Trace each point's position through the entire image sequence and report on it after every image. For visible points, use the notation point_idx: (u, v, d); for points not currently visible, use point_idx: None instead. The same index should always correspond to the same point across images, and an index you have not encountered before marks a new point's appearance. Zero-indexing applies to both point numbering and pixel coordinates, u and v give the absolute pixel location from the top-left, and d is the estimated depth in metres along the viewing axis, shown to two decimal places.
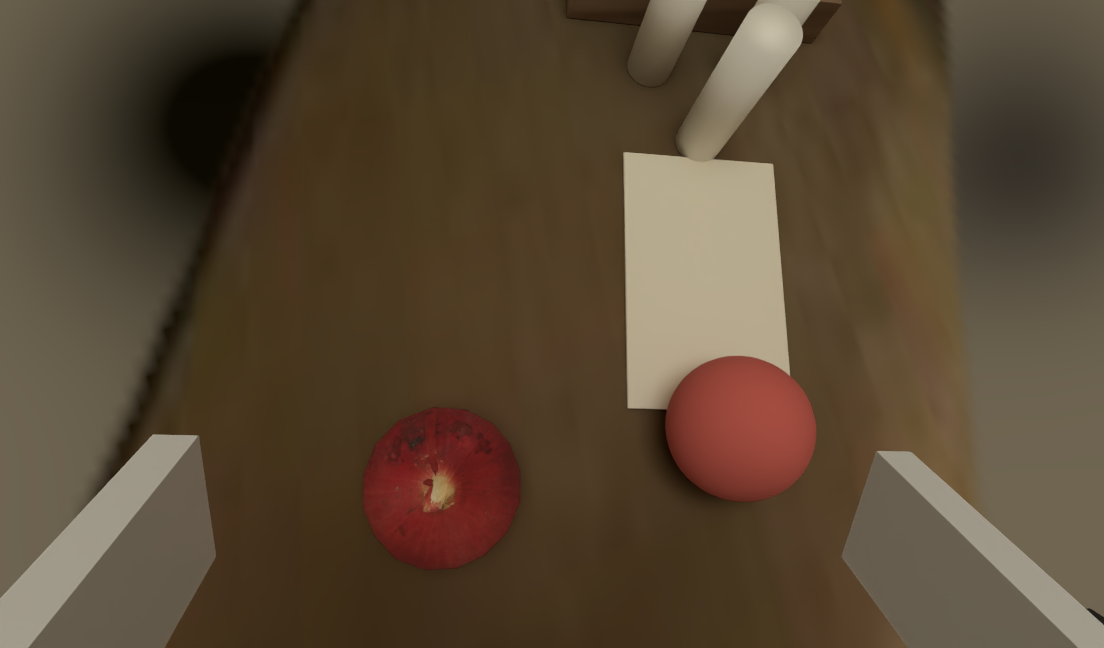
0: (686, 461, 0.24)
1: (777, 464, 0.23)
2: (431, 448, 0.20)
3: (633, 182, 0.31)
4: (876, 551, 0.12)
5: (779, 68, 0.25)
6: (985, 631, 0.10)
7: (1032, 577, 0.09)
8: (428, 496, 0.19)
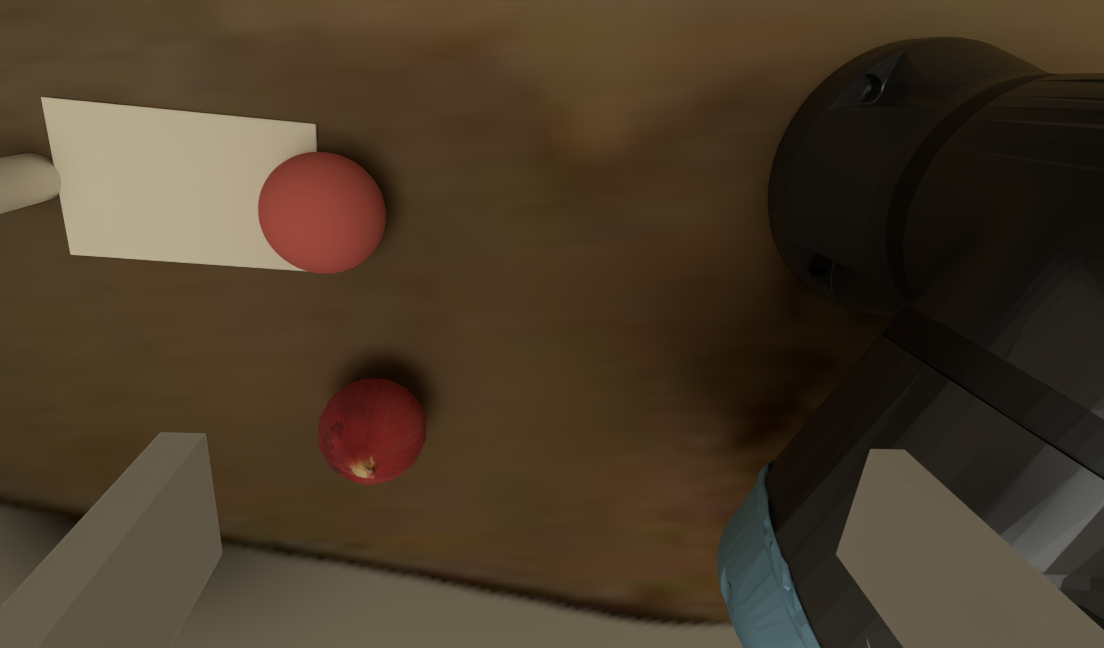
0: None
1: (344, 221, 0.29)
2: (339, 465, 0.32)
3: (102, 248, 0.33)
4: (870, 548, 0.12)
5: None
6: (976, 627, 0.10)
7: (1022, 574, 0.09)
8: (364, 477, 0.31)
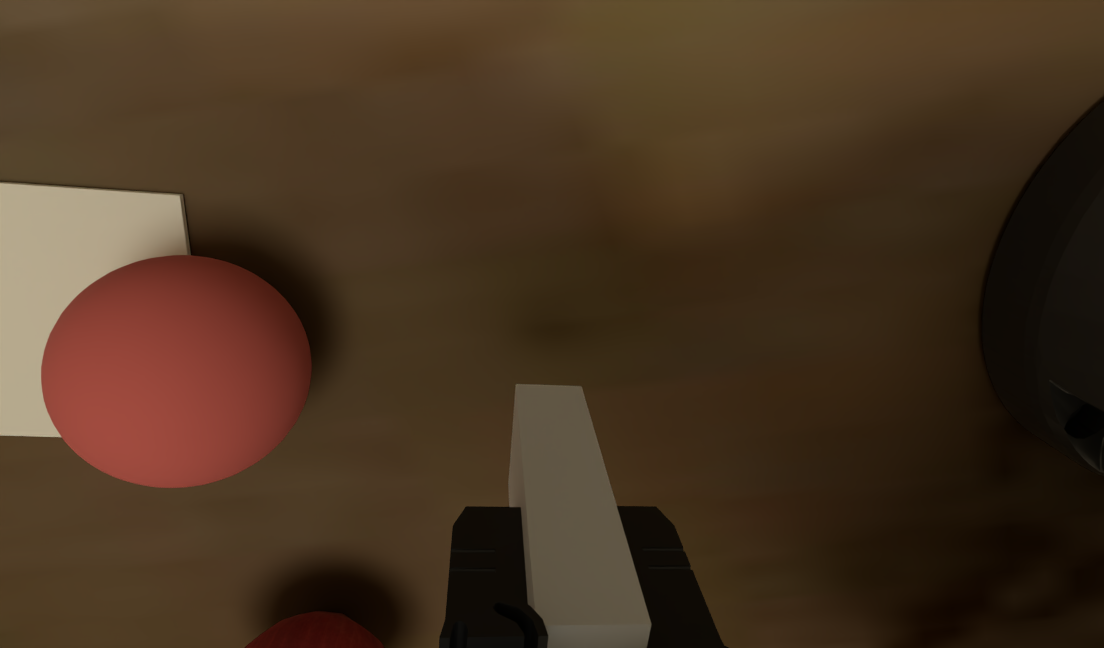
0: (247, 467, 0.17)
1: (207, 409, 0.14)
2: None
3: None
4: None
5: None
6: None
7: (590, 476, 0.11)
8: None
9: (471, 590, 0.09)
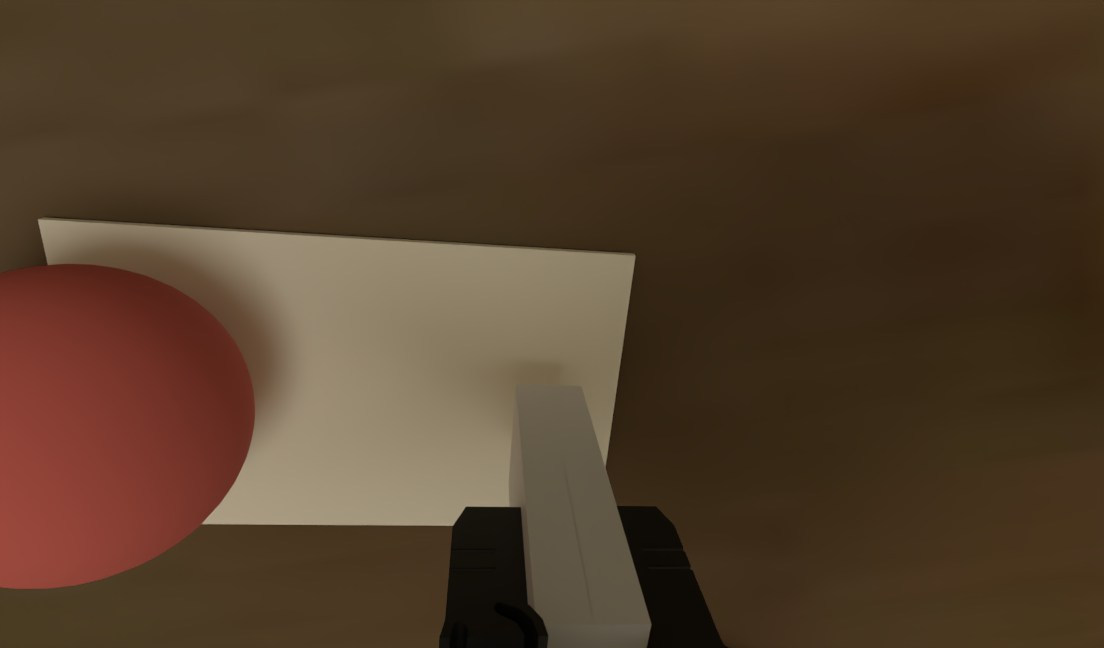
0: None
1: None
2: None
3: None
4: None
5: None
6: None
7: (589, 475, 0.11)
8: None
9: (471, 590, 0.09)
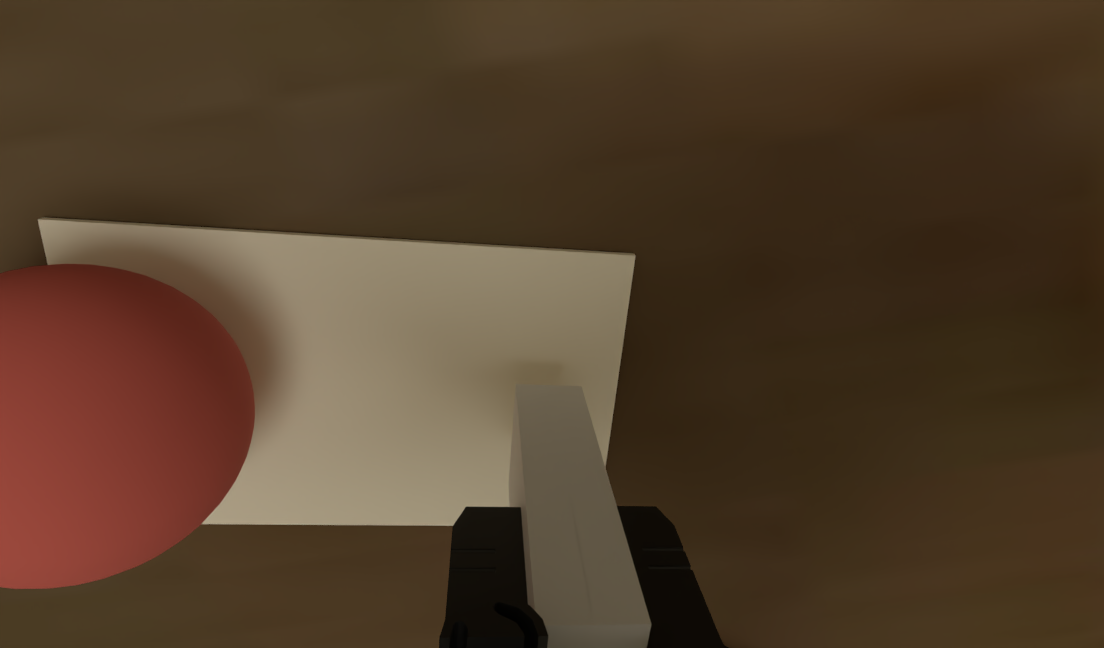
0: None
1: None
2: None
3: None
4: None
5: None
6: None
7: (589, 476, 0.11)
8: None
9: (471, 590, 0.09)
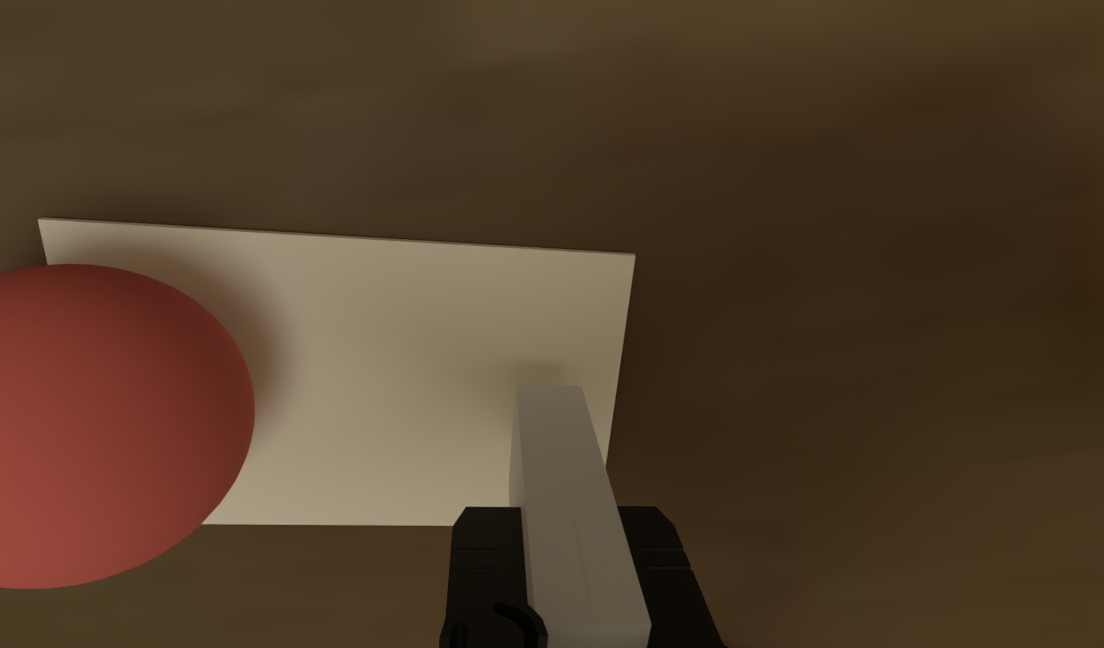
0: None
1: None
2: None
3: None
4: None
5: None
6: None
7: (589, 476, 0.11)
8: None
9: (471, 590, 0.09)
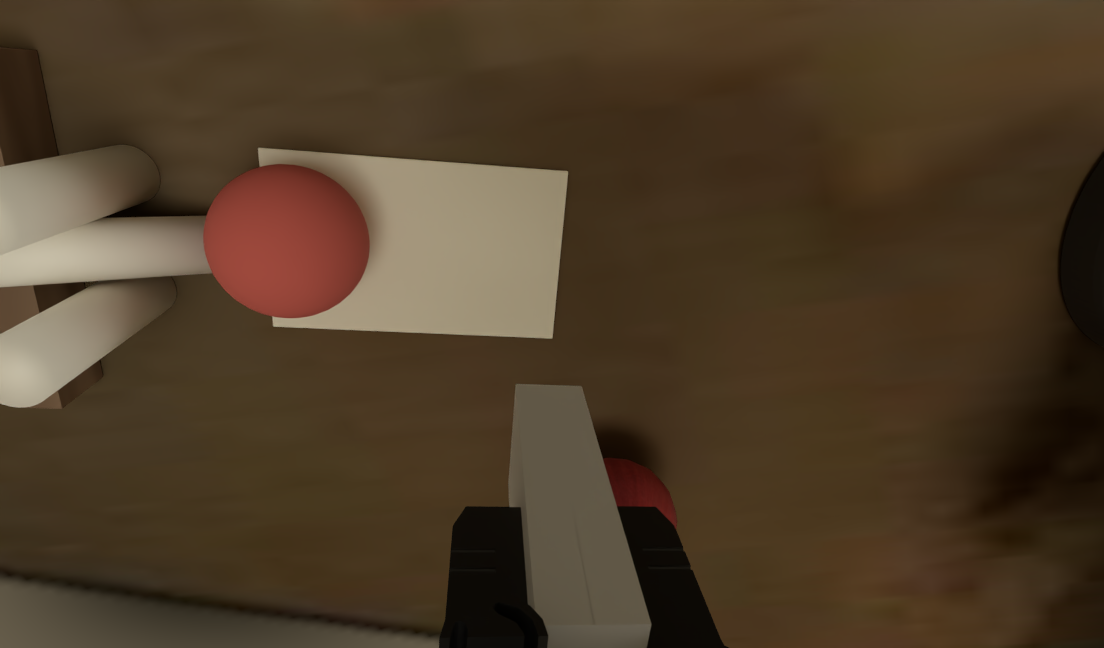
0: None
1: None
2: None
3: (310, 318, 0.28)
4: None
5: None
6: None
7: (590, 476, 0.11)
8: None
9: (471, 591, 0.09)
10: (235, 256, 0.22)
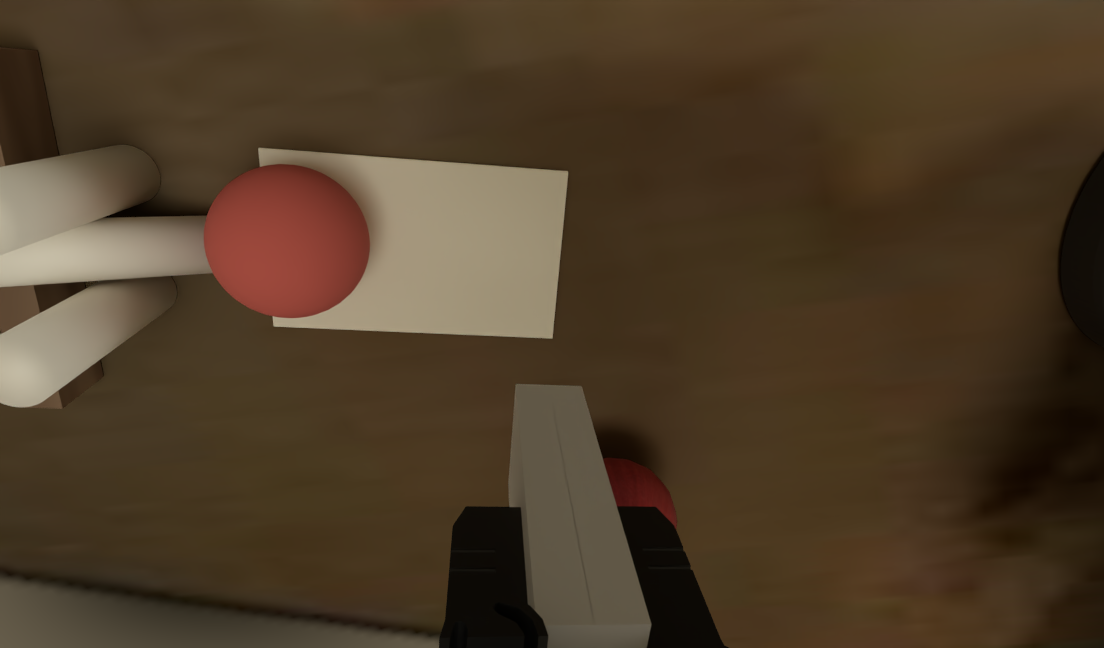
0: None
1: None
2: None
3: (310, 318, 0.28)
4: None
5: None
6: None
7: (589, 476, 0.11)
8: None
9: (471, 590, 0.09)
10: (235, 256, 0.22)
